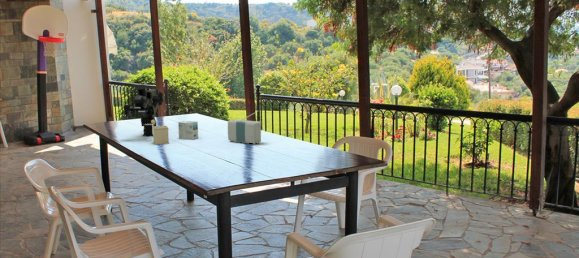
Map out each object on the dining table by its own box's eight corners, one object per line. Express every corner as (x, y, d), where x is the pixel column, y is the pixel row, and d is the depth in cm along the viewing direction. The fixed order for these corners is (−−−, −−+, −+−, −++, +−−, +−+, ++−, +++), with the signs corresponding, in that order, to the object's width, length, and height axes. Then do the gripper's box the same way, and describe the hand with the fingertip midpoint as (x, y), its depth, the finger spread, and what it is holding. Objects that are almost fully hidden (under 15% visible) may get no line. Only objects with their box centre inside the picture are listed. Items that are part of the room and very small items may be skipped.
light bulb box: (198, 138, 355) (198, 121, 353) (193, 139, 348) (192, 122, 347) (183, 137, 358) (183, 120, 356) (178, 138, 352) (177, 122, 350)
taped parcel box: (227, 141, 341) (226, 109, 338) (236, 140, 347) (235, 108, 344) (254, 145, 329) (253, 111, 326) (262, 143, 336) (262, 110, 333)
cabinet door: (154, 133, 340) (154, 118, 339) (156, 135, 332) (155, 120, 331) (150, 133, 340) (150, 118, 338) (152, 136, 331) (151, 120, 330)
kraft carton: (166, 140, 344) (166, 125, 343) (168, 143, 335) (168, 128, 333) (153, 141, 341) (152, 126, 340) (155, 144, 332) (154, 128, 331)
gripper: (125, 92, 347) (117, 105, 334) (154, 92, 346) (148, 106, 333) (128, 107, 353) (121, 121, 340) (157, 107, 352) (151, 121, 339)
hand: (135, 117), depth 338 cm, fingers open, 9 cm apart
